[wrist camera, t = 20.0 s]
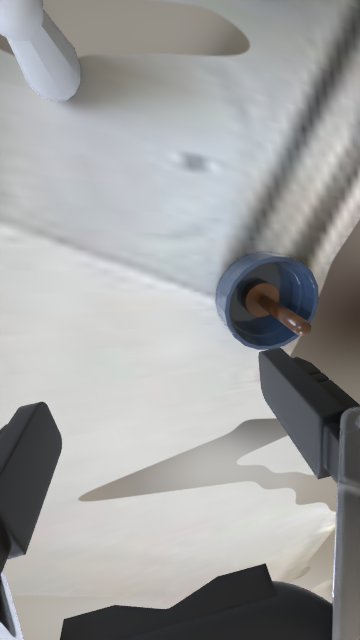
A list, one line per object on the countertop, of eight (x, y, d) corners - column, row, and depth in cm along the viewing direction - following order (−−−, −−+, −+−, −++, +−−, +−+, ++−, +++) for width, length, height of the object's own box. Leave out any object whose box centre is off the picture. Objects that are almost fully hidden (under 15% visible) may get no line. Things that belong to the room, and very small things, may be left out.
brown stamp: (243, 279, 40) (289, 307, 28) (276, 280, 41) (335, 308, 28) (238, 312, 42) (279, 352, 29) (270, 313, 43) (323, 352, 30)
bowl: (220, 249, 39) (231, 254, 33) (305, 253, 40) (329, 258, 35) (210, 334, 43) (220, 349, 38) (287, 334, 45) (306, 349, 40)
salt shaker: (78, 42, 29) (33, -84, 17) (90, 107, 31) (57, 36, 19) (21, 45, 28) (-68, -83, 16) (37, 111, 30) (-31, 41, 18)
